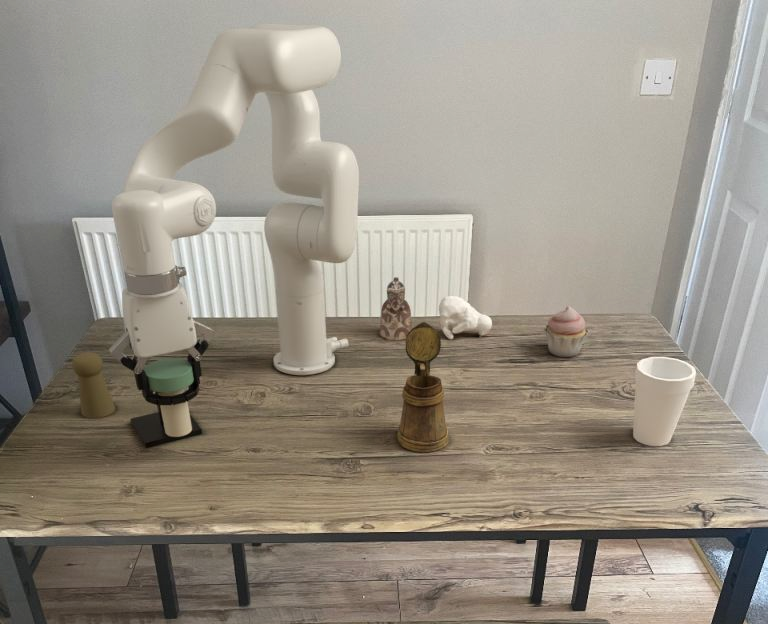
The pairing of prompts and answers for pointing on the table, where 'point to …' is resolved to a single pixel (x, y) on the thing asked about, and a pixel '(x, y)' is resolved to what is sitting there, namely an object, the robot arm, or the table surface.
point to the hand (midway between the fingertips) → (170, 386)
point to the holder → (153, 425)
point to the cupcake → (565, 333)
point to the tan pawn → (92, 386)
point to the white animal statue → (461, 317)
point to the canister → (172, 392)
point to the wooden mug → (423, 395)
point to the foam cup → (660, 398)
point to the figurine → (395, 313)
